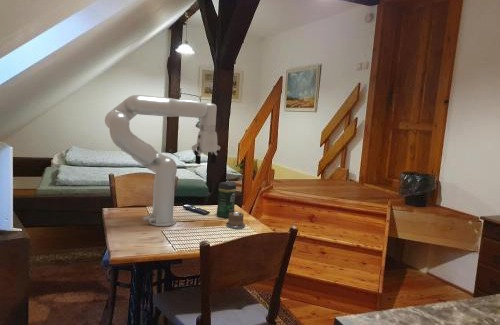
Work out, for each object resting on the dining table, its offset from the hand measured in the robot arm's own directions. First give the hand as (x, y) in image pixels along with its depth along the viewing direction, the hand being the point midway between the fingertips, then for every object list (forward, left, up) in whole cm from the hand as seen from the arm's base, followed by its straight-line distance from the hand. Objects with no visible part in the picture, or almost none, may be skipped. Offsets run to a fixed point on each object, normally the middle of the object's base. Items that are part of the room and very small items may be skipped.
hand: (205, 163), depth 177 cm
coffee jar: (+14, -2, -28) cm, 32 cm away
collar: (+6, -18, -27) cm, 33 cm away
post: (+6, -18, -28) cm, 34 cm away
